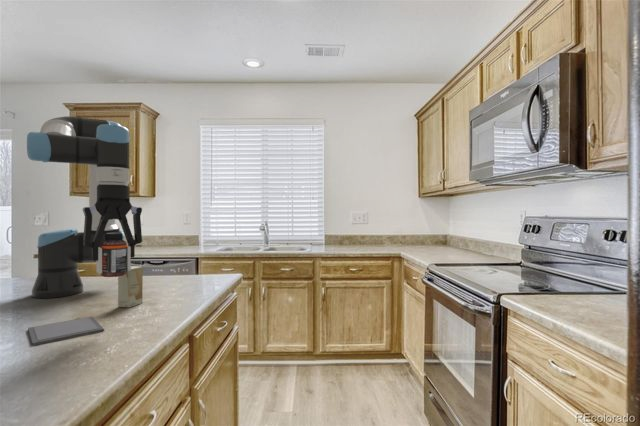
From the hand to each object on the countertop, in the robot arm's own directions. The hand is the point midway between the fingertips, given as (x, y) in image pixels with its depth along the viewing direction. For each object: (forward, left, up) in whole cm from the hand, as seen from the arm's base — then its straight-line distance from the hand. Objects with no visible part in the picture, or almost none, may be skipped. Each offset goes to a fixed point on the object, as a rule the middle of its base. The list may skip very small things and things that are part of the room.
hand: (113, 271), depth 93 cm
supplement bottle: (0, 0, -1) cm, 1 cm away
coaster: (-4, -10, -14) cm, 18 cm away
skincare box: (-19, +9, -15) cm, 26 cm away
